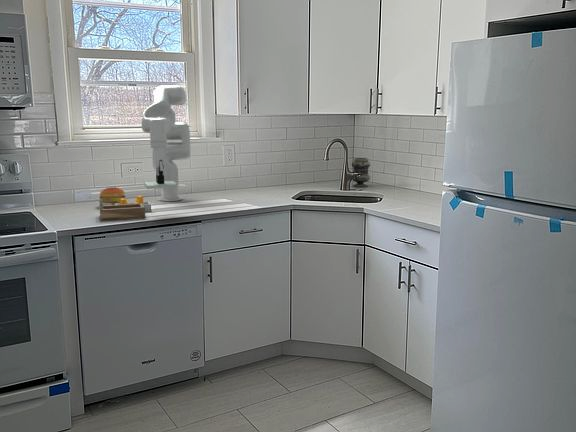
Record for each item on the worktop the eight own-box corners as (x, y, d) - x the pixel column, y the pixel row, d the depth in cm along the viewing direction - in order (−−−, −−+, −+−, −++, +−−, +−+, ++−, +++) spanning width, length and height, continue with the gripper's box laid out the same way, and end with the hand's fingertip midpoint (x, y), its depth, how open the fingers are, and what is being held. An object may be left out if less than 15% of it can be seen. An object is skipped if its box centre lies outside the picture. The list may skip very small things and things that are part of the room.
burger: (130, 204, 302) (129, 185, 300) (121, 209, 288) (119, 189, 286) (105, 204, 302) (104, 185, 300) (95, 208, 289) (94, 189, 287)
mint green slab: (144, 185, 277) (143, 172, 275) (173, 183, 281) (172, 170, 280) (147, 188, 266) (146, 175, 264) (177, 187, 270) (176, 173, 269)
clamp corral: (115, 210, 285) (115, 203, 284) (149, 208, 290) (149, 201, 289) (116, 213, 277) (116, 206, 276) (151, 211, 282) (150, 204, 282)
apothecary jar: (365, 188, 353) (366, 159, 350) (347, 186, 359) (348, 158, 356) (372, 185, 363) (373, 157, 360) (355, 184, 369) (356, 156, 366)
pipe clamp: (125, 212, 278) (124, 200, 276) (120, 211, 280) (119, 198, 279) (145, 209, 287) (145, 196, 285) (140, 208, 289) (139, 195, 288)
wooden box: (100, 216, 271) (99, 199, 269) (143, 213, 277) (142, 197, 276) (100, 220, 260) (99, 203, 258) (145, 217, 266) (144, 201, 265)
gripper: (148, 143, 276) (150, 181, 279) (152, 146, 261) (154, 186, 264) (163, 143, 278) (165, 180, 282) (169, 145, 263) (171, 185, 267)
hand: (160, 182), depth 273 cm, fingers closed on mint green slab, 3 cm apart
